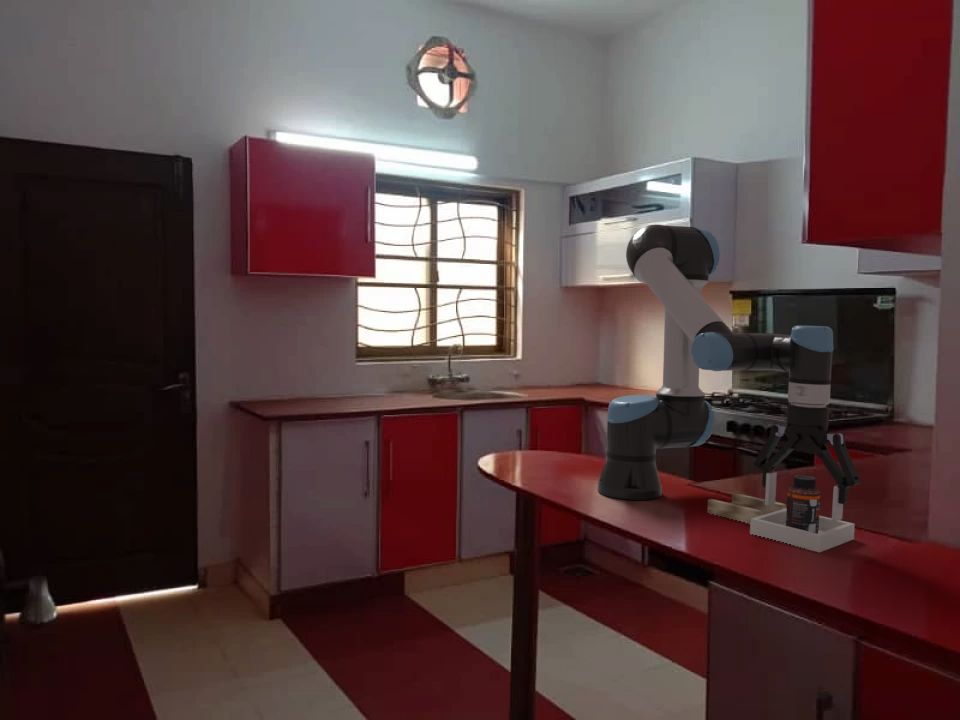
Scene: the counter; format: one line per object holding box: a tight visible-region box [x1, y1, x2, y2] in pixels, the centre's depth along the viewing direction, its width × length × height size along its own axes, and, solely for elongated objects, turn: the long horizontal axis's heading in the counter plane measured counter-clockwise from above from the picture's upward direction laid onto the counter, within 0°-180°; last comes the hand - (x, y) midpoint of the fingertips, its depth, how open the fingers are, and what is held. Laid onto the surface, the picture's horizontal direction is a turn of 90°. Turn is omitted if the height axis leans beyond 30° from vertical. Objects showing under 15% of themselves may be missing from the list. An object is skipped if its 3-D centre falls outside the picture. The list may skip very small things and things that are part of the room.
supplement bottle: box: [786, 474, 821, 534], centre depth 146 cm, size 6×6×11 cm
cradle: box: [707, 492, 787, 525], centre depth 161 cm, size 12×11×3 cm
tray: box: [749, 507, 855, 553], centre depth 146 cm, size 14×14×3 cm
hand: (802, 511), depth 146 cm, fingers open, 13 cm apart
